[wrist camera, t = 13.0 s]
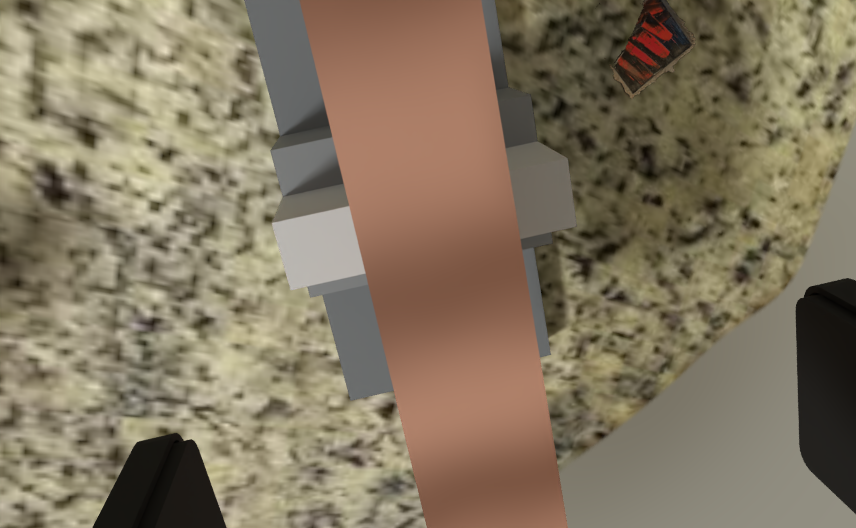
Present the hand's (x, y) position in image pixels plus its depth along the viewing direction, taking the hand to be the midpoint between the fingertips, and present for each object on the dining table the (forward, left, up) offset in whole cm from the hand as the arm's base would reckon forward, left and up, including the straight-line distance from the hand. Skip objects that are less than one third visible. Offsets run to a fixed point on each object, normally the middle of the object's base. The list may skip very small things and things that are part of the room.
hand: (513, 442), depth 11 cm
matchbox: (-3, +11, -24) cm, 27 cm away
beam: (0, 0, -14) cm, 14 cm away
